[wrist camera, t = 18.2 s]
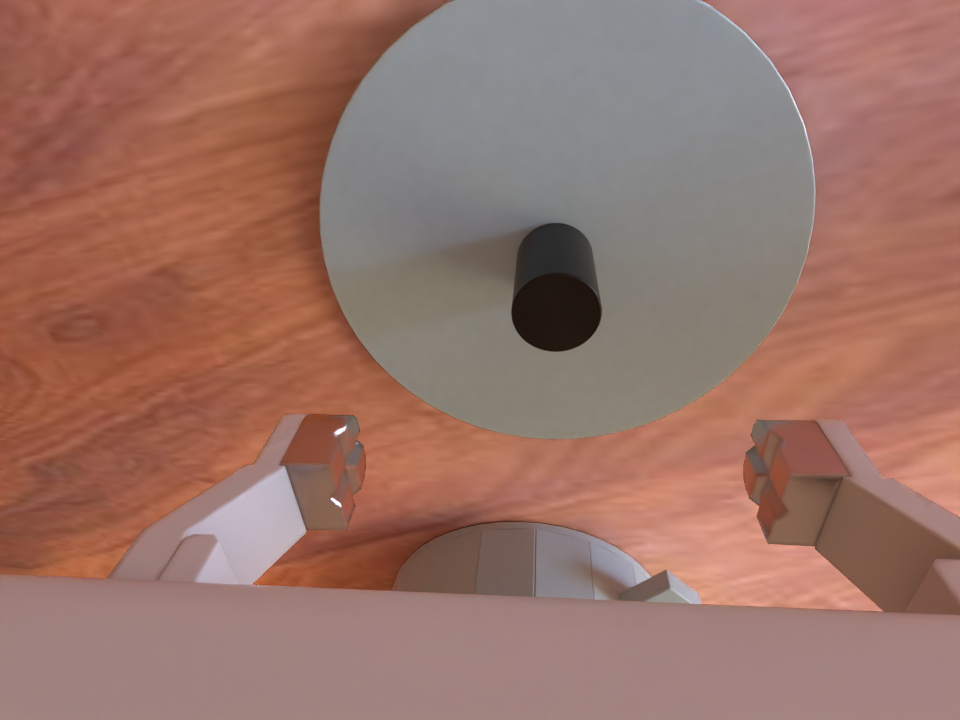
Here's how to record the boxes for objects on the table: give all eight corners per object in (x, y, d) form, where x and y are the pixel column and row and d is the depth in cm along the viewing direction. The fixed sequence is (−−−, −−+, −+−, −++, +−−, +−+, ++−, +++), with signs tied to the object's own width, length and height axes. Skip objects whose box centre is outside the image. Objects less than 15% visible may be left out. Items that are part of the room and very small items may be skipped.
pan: (764, 604, 31) (794, 690, 27) (500, 718, 41) (495, 793, 37) (562, 446, 26) (564, 523, 22) (318, 619, 36) (291, 693, 32)
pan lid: (902, 239, 19) (1003, 312, 15) (550, 478, 27) (551, 572, 23) (560, -197, 14) (565, -273, 10) (248, 250, 22) (175, 316, 18)
